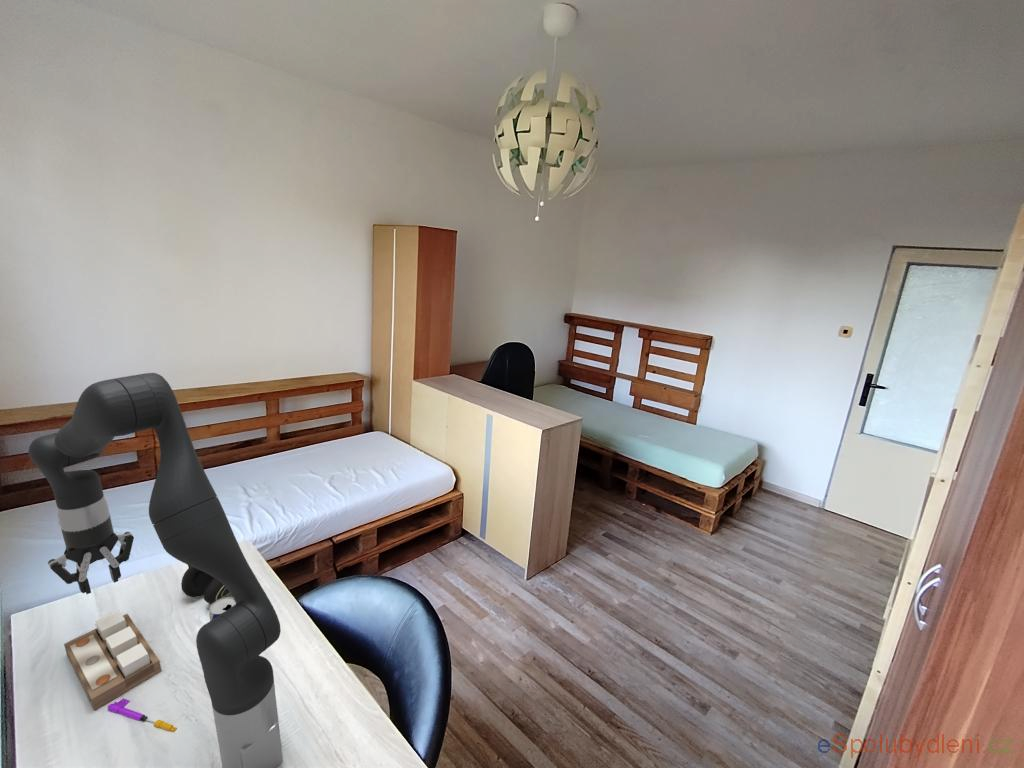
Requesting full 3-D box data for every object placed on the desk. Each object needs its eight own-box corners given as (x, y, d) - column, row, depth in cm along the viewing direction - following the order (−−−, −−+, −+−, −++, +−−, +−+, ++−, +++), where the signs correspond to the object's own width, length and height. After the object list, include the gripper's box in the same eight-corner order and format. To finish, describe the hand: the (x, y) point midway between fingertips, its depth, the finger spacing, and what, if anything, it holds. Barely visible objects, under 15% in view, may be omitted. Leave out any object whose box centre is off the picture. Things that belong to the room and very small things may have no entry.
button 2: (150, 664, 95) (148, 653, 94) (125, 678, 91) (122, 667, 91) (143, 653, 97) (140, 642, 96) (118, 667, 94) (116, 656, 93)
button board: (161, 670, 96) (159, 658, 95) (94, 710, 87) (91, 697, 86) (129, 623, 107) (126, 611, 106) (66, 654, 98) (63, 642, 97)
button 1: (127, 629, 102) (125, 619, 101) (103, 641, 99) (101, 631, 98) (121, 620, 104) (119, 610, 104) (97, 632, 101) (95, 621, 100)
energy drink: (229, 659, 100) (223, 617, 96) (209, 653, 101) (202, 611, 97) (247, 640, 105) (242, 599, 101) (228, 634, 106) (222, 594, 102)
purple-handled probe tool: (105, 711, 88) (172, 735, 85) (106, 705, 88) (172, 729, 84) (120, 701, 90) (185, 723, 87) (120, 695, 90) (185, 718, 87)
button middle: (138, 646, 98) (136, 635, 98) (114, 659, 95) (111, 648, 94) (131, 636, 101) (129, 626, 100) (108, 648, 97) (105, 638, 96)
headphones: (205, 577, 122) (195, 515, 116) (248, 592, 119) (240, 528, 113) (174, 599, 114) (162, 533, 109) (220, 615, 111) (209, 548, 105)
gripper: (41, 543, 85) (62, 614, 90) (134, 511, 96) (147, 576, 102) (32, 527, 89) (52, 596, 94) (122, 498, 100) (135, 561, 106)
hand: (101, 585), depth 98 cm, fingers open, 4 cm apart
